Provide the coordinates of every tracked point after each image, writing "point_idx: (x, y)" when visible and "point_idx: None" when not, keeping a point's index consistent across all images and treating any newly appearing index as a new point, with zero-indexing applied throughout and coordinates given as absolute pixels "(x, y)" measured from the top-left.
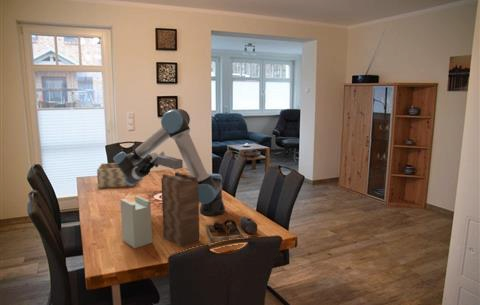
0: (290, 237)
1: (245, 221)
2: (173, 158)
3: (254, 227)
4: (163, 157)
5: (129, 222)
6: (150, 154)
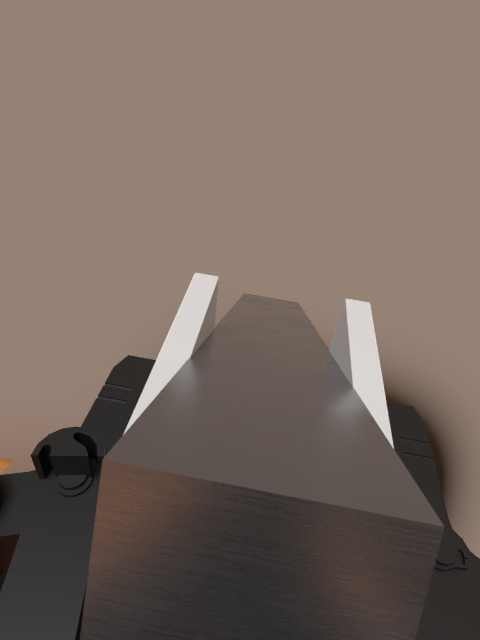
0: (7, 459)
1: None
2: (257, 304)
3: None
4: (297, 324)
5: None
6: (353, 431)
